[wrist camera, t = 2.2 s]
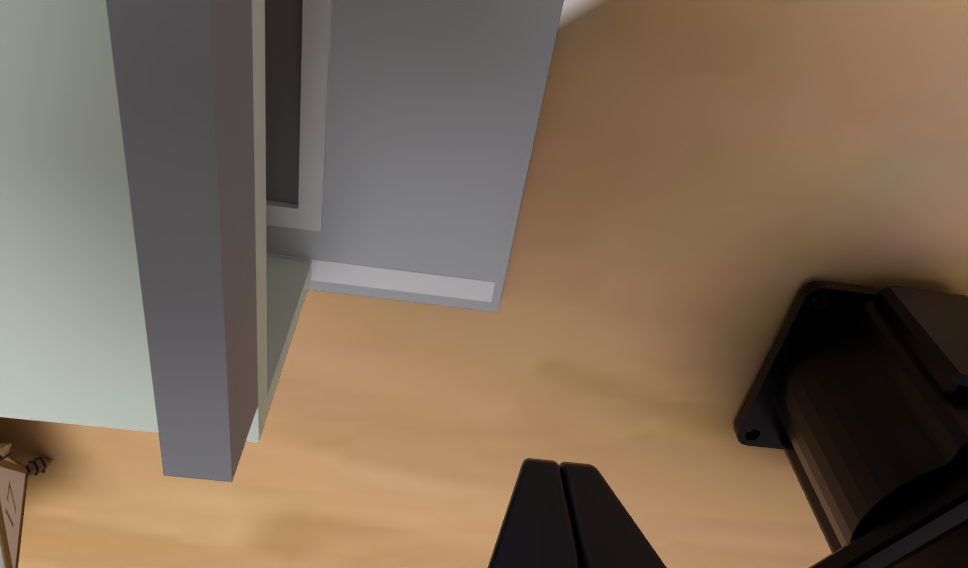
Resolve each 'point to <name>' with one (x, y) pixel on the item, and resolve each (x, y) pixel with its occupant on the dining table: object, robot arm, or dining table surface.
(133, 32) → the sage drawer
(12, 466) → the game die
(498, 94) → the puzzle board
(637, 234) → the dining table surface
